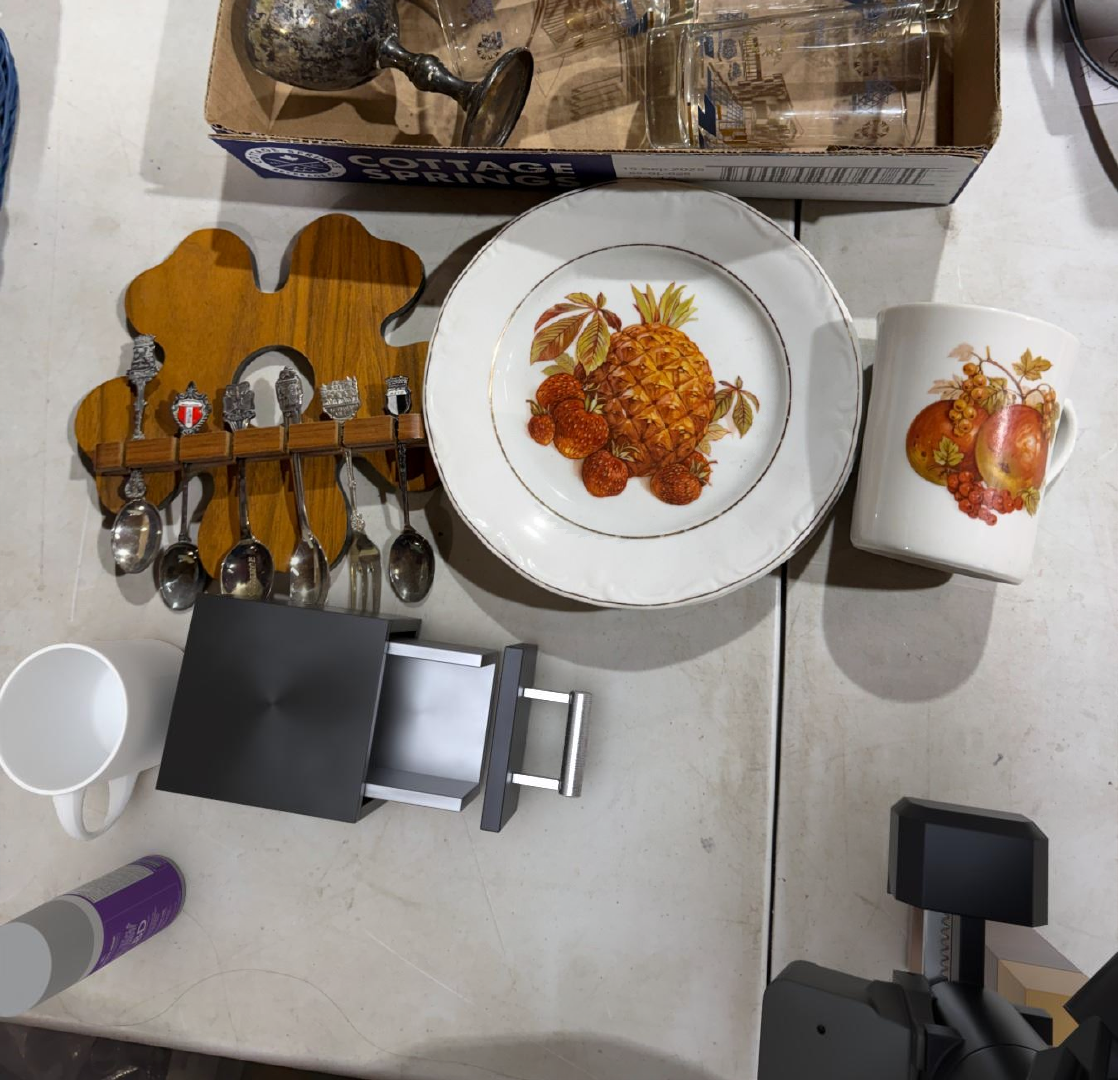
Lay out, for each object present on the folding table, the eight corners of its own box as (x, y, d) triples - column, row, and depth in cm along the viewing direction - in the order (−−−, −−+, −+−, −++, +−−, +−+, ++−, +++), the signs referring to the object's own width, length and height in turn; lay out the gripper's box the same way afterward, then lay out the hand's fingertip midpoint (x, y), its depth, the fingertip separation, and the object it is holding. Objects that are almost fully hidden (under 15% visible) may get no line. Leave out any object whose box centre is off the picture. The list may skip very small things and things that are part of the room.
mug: (74, 819, 69) (-30, 856, 59) (98, 636, 72) (2, 641, 62) (194, 824, 68) (109, 863, 58) (213, 639, 72) (135, 644, 61)
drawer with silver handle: (601, 653, 68) (594, 658, 61) (582, 822, 65) (572, 846, 58) (374, 621, 70) (343, 622, 63) (347, 783, 67) (311, 801, 61)
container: (182, 934, 67) (46, 1023, 52) (114, 930, 67) (-38, 1017, 53) (189, 856, 68) (59, 921, 54) (123, 853, 68) (-24, 917, 54)
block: (1085, 1069, 47) (1121, 1110, 44) (995, 1052, 48) (1023, 1091, 44) (1085, 974, 48) (1121, 1005, 44) (997, 958, 49) (1025, 988, 45)
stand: (1009, 986, 61) (1108, 1098, 47) (906, 968, 62) (973, 1072, 48) (1011, 877, 62) (1107, 954, 48) (910, 861, 63) (976, 932, 49)
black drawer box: (422, 618, 70) (388, 619, 62) (394, 798, 67) (355, 824, 59) (251, 594, 72) (196, 592, 64) (216, 768, 69) (154, 789, 61)
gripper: (799, 812, 39) (766, 754, 54) (762, 1409, 34) (737, 1164, 49) (1110, 860, 37) (986, 787, 52) (1114, 1493, 33) (977, 1213, 48)
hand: (917, 979), depth 50 cm, fingers open, 9 cm apart
